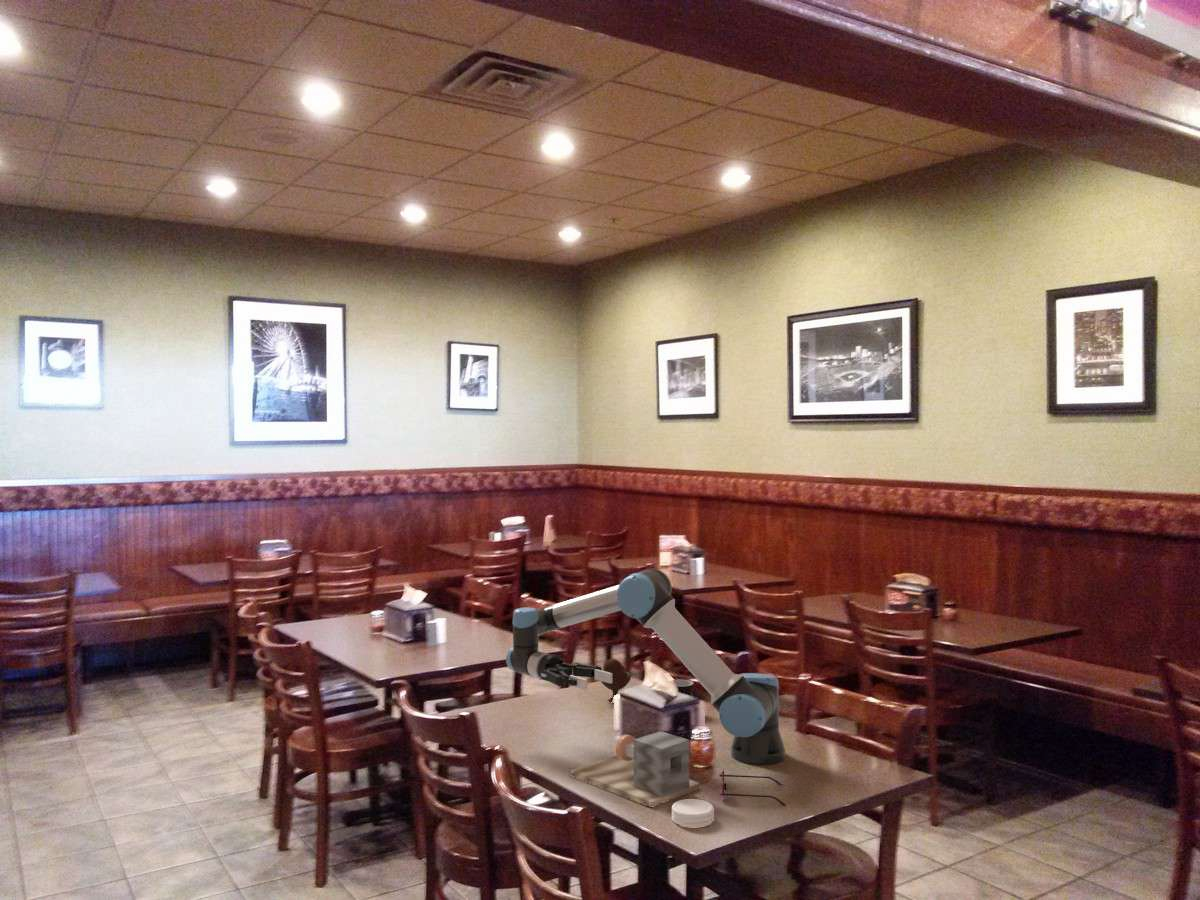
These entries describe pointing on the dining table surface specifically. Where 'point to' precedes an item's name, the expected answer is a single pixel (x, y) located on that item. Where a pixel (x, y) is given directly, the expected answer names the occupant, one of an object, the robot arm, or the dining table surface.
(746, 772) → the dining table surface
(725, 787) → the glasses
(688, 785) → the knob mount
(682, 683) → the coffee mug
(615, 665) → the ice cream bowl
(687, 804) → the white jar lid
